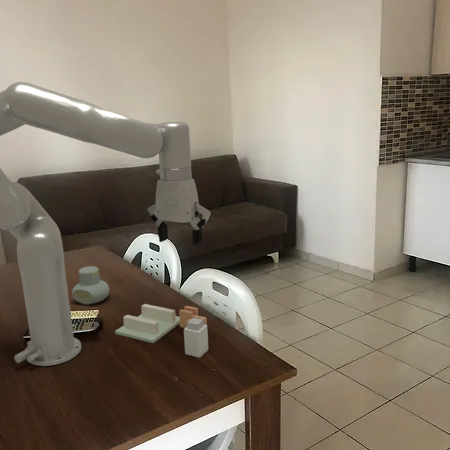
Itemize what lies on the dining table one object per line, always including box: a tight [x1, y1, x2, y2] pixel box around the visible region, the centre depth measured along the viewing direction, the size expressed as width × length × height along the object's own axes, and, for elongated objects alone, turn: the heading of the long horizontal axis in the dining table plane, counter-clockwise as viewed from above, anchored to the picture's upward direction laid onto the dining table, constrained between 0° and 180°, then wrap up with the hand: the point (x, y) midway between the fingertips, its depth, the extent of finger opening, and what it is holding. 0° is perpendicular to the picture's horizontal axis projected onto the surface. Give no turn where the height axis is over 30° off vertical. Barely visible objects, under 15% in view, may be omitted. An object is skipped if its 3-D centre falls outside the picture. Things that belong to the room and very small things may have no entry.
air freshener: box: [71, 265, 111, 306], centre depth 147 cm, size 11×8×10 cm
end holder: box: [114, 303, 180, 344], centre depth 130 cm, size 14×12×4 cm
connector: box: [183, 318, 209, 359], centre depth 116 cm, size 4×4×8 cm
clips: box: [178, 305, 208, 329], centre depth 127 cm, size 8×9×5 cm
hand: (180, 242), depth 123 cm, fingers open, 9 cm apart
